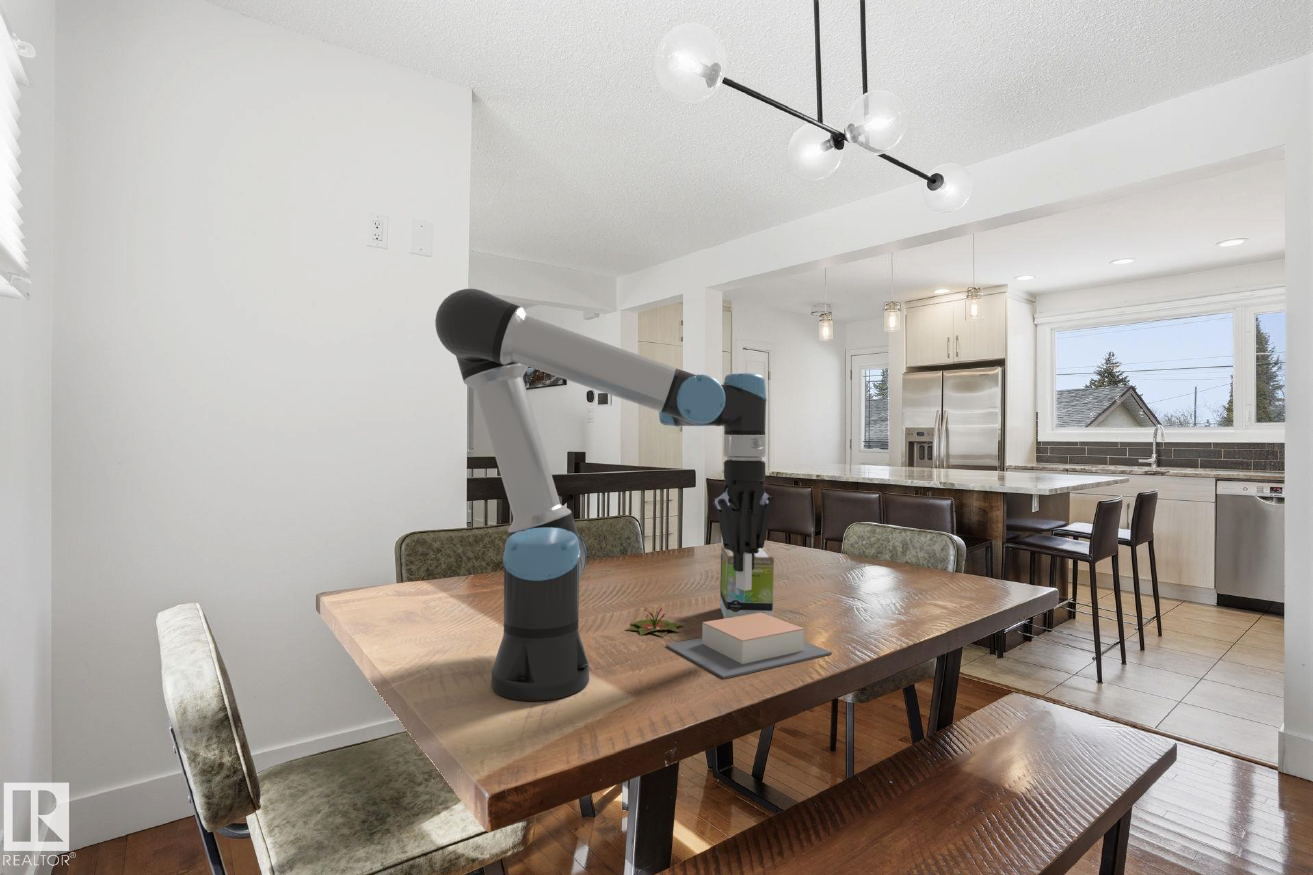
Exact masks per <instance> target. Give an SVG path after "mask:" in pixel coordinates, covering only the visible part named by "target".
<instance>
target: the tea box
mask: <svg viewBox="0 0 1313 875" xmlns="http://www.w3.org/2000/svg"><path fill="white" fill-rule="evenodd" d="M758 550H759V552H758V553H757V554H756V553H755V554H754V570H752V590H746V591H745V590H742V589H739V588H736V571H735V570H734V569H733V552H732V551H730V550H727V549H725V548H724V546H723V544H722V545H721V549H720V582H719V583H720V588H719V590H720V591H719V593H720V594H719V596H720V598H719V609H720V610H721V613H722V614H721V615H722V618H723V619H725V618H731V617H737V616H743V615H749V614H755V613H764V614H767V615H769V616H772V617H774V608H773V607H774V582H775V580H774V573H775V557H774V556H773V554H771V553H770V552H769V551H768V550H767V549H766V547H765V546H764V547H763V548H759V549H758Z"/></svg>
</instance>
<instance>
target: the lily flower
mask: <svg viewBox="0 0 1313 875" xmlns="http://www.w3.org/2000/svg"><path fill="white" fill-rule="evenodd" d="M658 609H659V607H657V608H656V612H655V613H654V610H652V611H650V610H649V609H648V607H644V610H643V611H645V612H647V613H648V614H647V613H646V615H645V619H644V620H643V619H640V620H637V621H634V622H630V623H629V624H632V626H630V627H628V628H625V629H624V630H625V631H637V632H639V636H640V637H641V636H643V635H645V634H647V633H650V634H654V635H656V636H659V637H662V638H664V637H665V636H666V634H667V633H668V630H670V631H673V632H677V633H680V631H679V629H678V628H677V627H681V626H683V624H681V623H676V622H670V620H668V619H667V620H666V619H662V618H665V615H666V613H663V614H662V615H661V617H660V618H659V615H660V614H661V612H662V610H663V608H662V607H661V608H660V609H659V611H658ZM650 616H651V617H650ZM657 627H658V628H659V631H661V632H660V633H658V632H657V633H656V632H655V631H656V629H657ZM650 628H653V629H650Z"/></svg>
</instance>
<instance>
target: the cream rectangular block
mask: <svg viewBox="0 0 1313 875" xmlns="http://www.w3.org/2000/svg"><path fill="white" fill-rule="evenodd" d="M701 626H702V633H701V634H702V636H701V638H702V644H704V645H706V646H708V647H710V648H712V649H714V650H716V651H718V652H720V653H721V654H723V655H725V656H727V657H729V658H731V659H733V660H735V661H737V662H739V663H741V664H745V663H750V662H754V661H759V660H763V659H768V658H773V657H777V656H782V655H786V654H791V653H795V652H800V651H804V641H805V628H804V627H801V626H799V625H796V624H792V623H790V622H787V621H785V620H782V619H779V618H778V617H775V616H773V617H772V616H769V615H767V614H764V613H755V614H749V615H743V616H737V617H731V618H725V619H724V618H721V619H713V620H707V621H702V624H701Z"/></svg>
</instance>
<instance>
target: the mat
mask: <svg viewBox="0 0 1313 875" xmlns="http://www.w3.org/2000/svg"><path fill="white" fill-rule="evenodd" d="M665 647H666V648H667V649H670V650H671V651H672V652H675V653H677V654H678V655H681V656H682V657H683V658H685V659H688V660H689V661H691V662H693V663H695V664H696V665H698V666H700V667H701V668H703V669H705V670H707V671H709V672H711V674H712V673H713V674H714V675H715V676H718V677H720V678H721V679H722V680H725V679H730V678H735V677H739V676H743V675H749V674H751V673H755V672H760V671H764V670H765V671H766V670H769V669H773V668H779V667H782V666H786V665H791V664H795V663H799V662H805V661H809V660H812V659H813V660H814V659H818V658H821V657H825V656H830V655H833V652H832V651H830V650H827V649H825V648H822V647H820V646H818V645H816V644H812V643H810V642H807V641H805V640H804V651H800V652H795V653H791V654H786V655H782V656H777V657H773V658H768V659H763V660H759V661H754V662H750V663H745V664H741V663H739V662H737V661H735V660H733V659H731V658H729V657H727V656H725V655H723V654H721V653H720V652H718V651H716V650H714V649H712V648H710V647H708V646H706V645H704V644H702V637H698V638H693V639H688V640H681V641H677V642H672V643H666V644H665Z"/></svg>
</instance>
